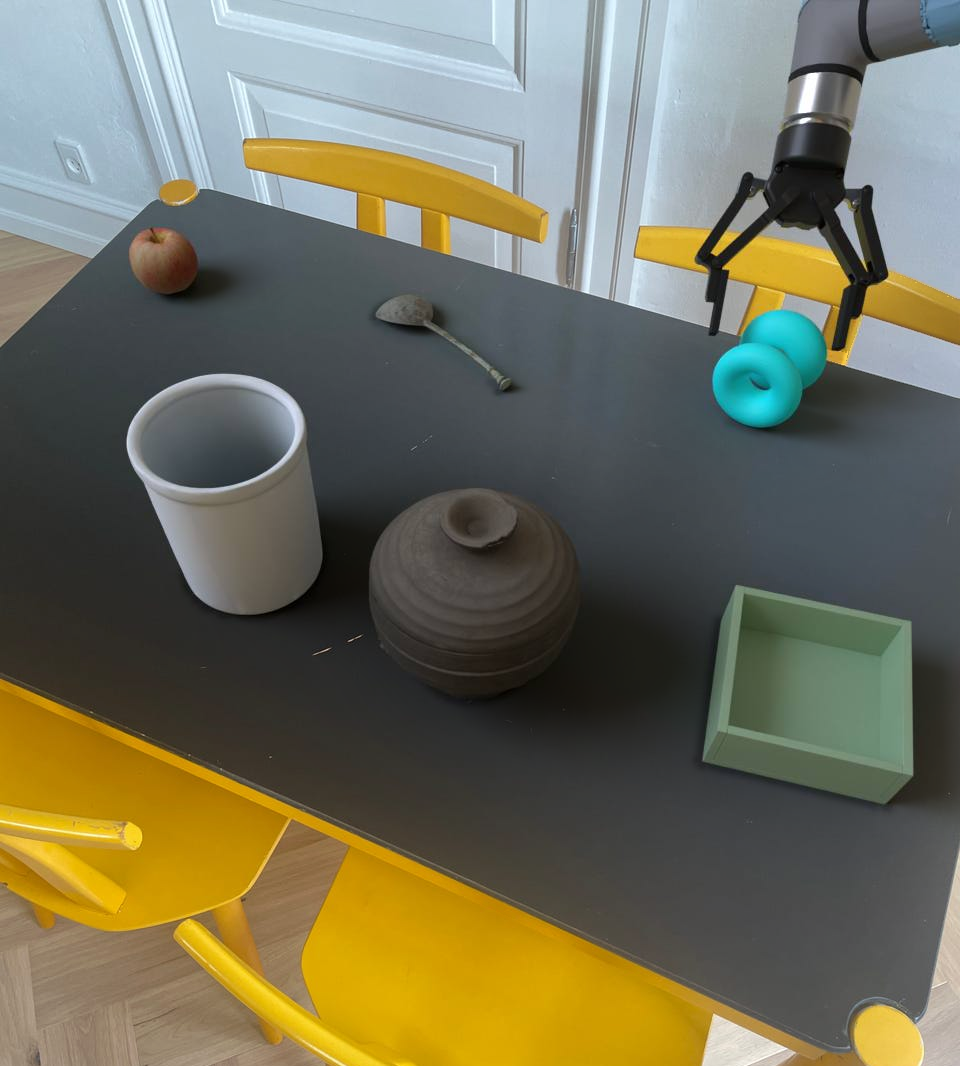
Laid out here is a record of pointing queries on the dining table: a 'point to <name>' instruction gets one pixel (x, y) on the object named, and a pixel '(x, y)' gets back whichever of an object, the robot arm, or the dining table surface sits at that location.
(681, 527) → the dining table surface
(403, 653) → the pot
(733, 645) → the bin
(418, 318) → the soupspoon
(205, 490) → the utensil holder
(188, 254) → the apple
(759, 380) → the donuts
